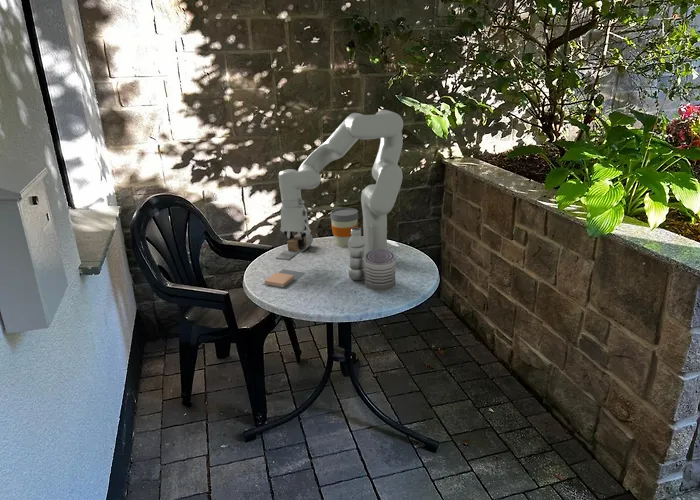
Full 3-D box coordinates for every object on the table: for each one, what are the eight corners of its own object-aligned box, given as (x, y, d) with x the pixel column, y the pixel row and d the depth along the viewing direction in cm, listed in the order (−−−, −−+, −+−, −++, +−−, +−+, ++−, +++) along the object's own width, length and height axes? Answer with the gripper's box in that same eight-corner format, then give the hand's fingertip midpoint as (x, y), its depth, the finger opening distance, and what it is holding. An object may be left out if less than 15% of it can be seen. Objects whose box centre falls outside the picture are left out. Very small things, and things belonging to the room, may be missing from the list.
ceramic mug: (314, 245, 221) (313, 229, 218) (307, 252, 214) (306, 235, 211) (292, 244, 224) (291, 228, 222) (285, 250, 217) (283, 234, 214)
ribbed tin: (400, 281, 184) (400, 251, 179) (388, 294, 174) (388, 262, 170) (372, 276, 189) (372, 247, 184) (359, 288, 179) (358, 258, 175)
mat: (306, 274, 192) (305, 272, 192) (286, 290, 180) (286, 288, 180) (283, 270, 197) (283, 269, 196) (262, 285, 184) (262, 284, 184)
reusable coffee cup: (325, 244, 222) (324, 212, 217) (344, 236, 231) (343, 206, 225) (346, 250, 214) (345, 217, 209) (364, 242, 223) (364, 210, 218)
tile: (294, 275, 187) (283, 283, 180) (294, 279, 187) (283, 287, 180) (275, 272, 190) (264, 280, 183) (276, 276, 190) (264, 284, 184)
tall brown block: (296, 243, 198) (295, 233, 197) (309, 244, 196) (308, 234, 194) (275, 259, 185) (274, 248, 183) (289, 260, 183) (288, 249, 181)
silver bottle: (357, 273, 191) (355, 225, 184) (369, 278, 187) (368, 228, 179) (345, 278, 187) (343, 229, 180) (357, 284, 183) (356, 233, 175)
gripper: (315, 200, 186) (320, 245, 193) (278, 198, 192) (284, 242, 199) (306, 206, 180) (311, 253, 187) (268, 204, 186) (274, 249, 193)
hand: (297, 247), depth 193 cm, fingers closed on tall brown block, 3 cm apart
